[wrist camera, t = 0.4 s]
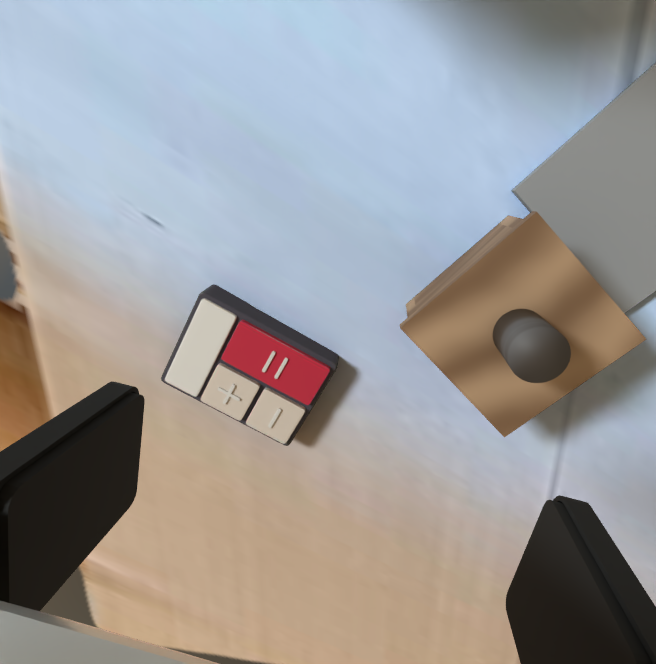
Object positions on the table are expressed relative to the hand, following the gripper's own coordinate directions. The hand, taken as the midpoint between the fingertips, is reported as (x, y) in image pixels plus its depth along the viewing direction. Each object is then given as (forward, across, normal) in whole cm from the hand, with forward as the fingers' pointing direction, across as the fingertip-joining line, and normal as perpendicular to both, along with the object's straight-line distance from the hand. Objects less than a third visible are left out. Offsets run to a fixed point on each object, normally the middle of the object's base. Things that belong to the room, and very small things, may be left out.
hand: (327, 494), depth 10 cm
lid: (+29, -12, +1) cm, 31 cm away
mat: (+35, -20, -12) cm, 42 cm away
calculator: (+35, +10, +12) cm, 39 cm away
